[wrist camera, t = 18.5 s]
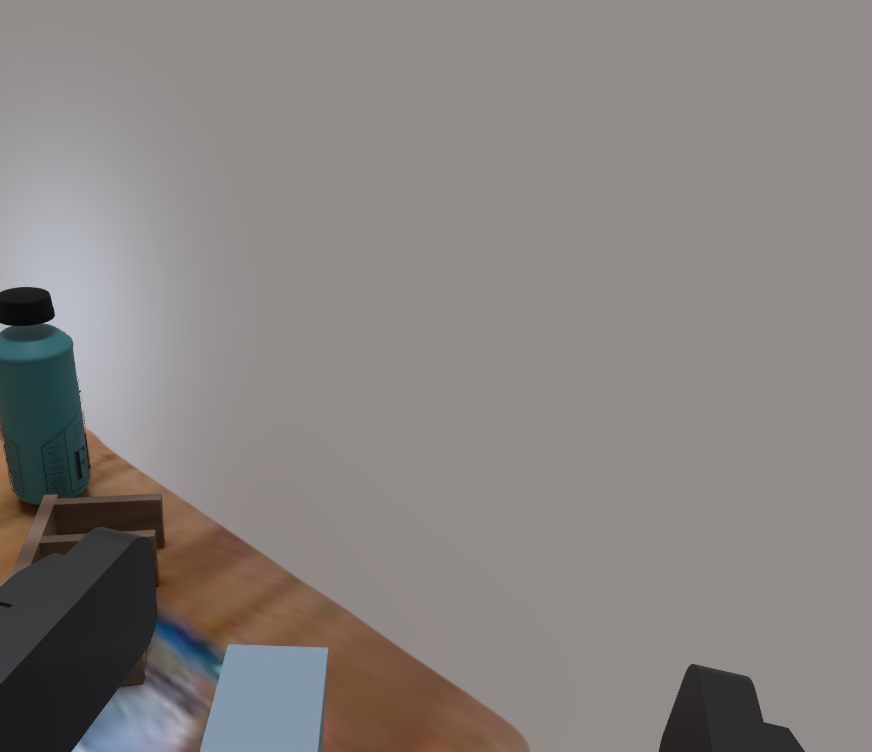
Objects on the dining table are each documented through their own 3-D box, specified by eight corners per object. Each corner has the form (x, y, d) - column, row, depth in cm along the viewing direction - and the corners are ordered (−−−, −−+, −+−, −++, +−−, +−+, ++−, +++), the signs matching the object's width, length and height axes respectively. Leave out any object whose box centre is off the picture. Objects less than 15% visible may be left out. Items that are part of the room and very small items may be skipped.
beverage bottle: (91, 515, 64) (66, 305, 56) (6, 525, 62) (-33, 307, 53) (95, 475, 70) (73, 278, 61) (17, 483, 67) (-17, 279, 59)
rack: (143, 683, 49) (138, 629, 47) (-5, 700, 47) (-18, 643, 44) (165, 537, 63) (162, 489, 60) (51, 544, 60) (44, 495, 58)
